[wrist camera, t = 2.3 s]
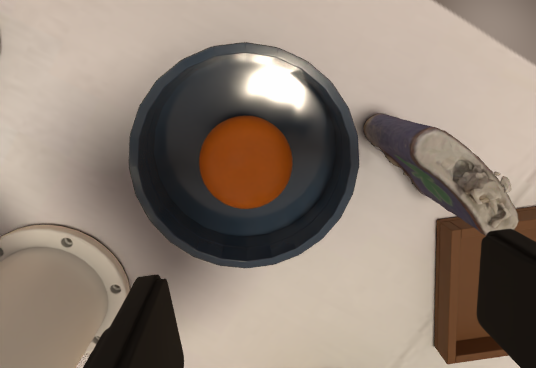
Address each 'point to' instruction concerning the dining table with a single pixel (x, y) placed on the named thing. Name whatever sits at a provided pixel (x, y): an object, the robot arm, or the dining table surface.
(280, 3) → the dining table surface
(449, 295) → the tray
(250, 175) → the mandarin
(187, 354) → the dining table surface
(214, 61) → the bowl
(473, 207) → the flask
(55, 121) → the dining table surface
